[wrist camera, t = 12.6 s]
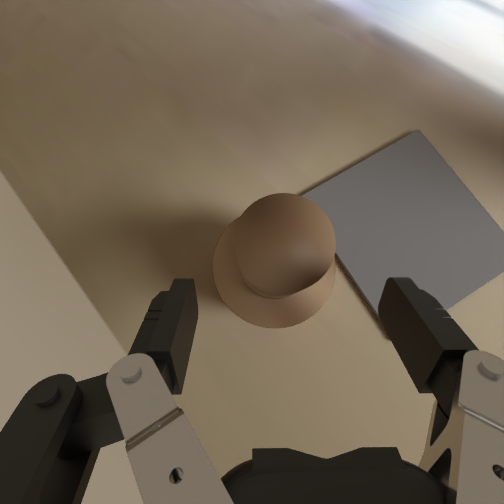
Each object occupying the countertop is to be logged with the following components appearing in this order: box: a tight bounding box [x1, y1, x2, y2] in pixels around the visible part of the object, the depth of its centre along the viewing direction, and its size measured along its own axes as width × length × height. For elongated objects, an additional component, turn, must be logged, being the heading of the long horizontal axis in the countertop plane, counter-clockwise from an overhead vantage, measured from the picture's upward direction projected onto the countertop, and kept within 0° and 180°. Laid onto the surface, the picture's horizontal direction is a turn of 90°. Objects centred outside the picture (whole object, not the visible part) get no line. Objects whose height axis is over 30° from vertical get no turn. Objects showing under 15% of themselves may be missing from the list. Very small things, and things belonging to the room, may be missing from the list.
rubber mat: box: [302, 129, 504, 327], centre depth 27 cm, size 15×16×1 cm
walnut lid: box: [213, 193, 336, 328], centre depth 17 cm, size 9×9×8 cm
